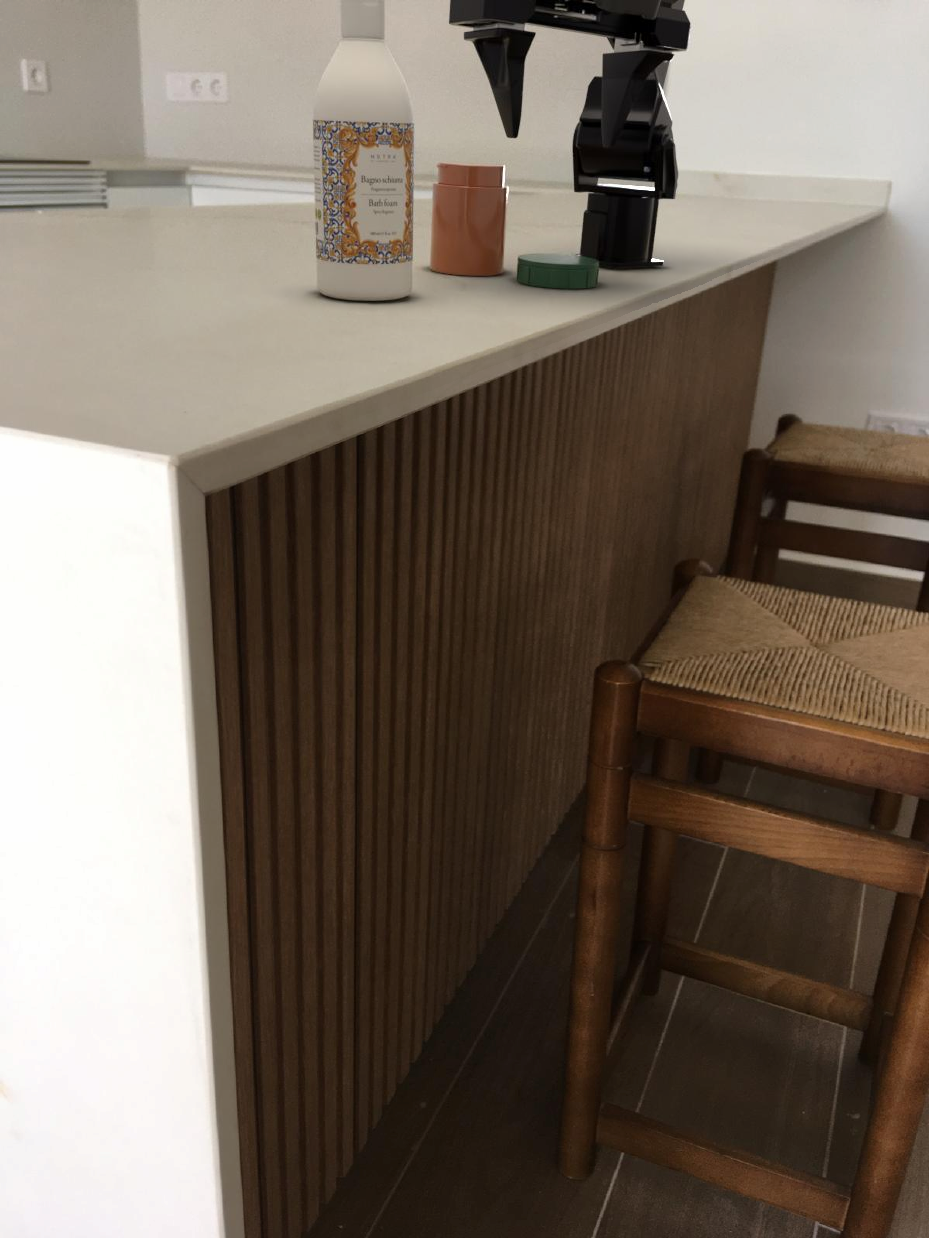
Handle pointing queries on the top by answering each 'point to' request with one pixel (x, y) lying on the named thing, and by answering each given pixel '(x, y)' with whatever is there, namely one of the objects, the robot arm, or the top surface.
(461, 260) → the jar
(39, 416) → the top surface
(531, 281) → the lid
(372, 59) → the bath foam
